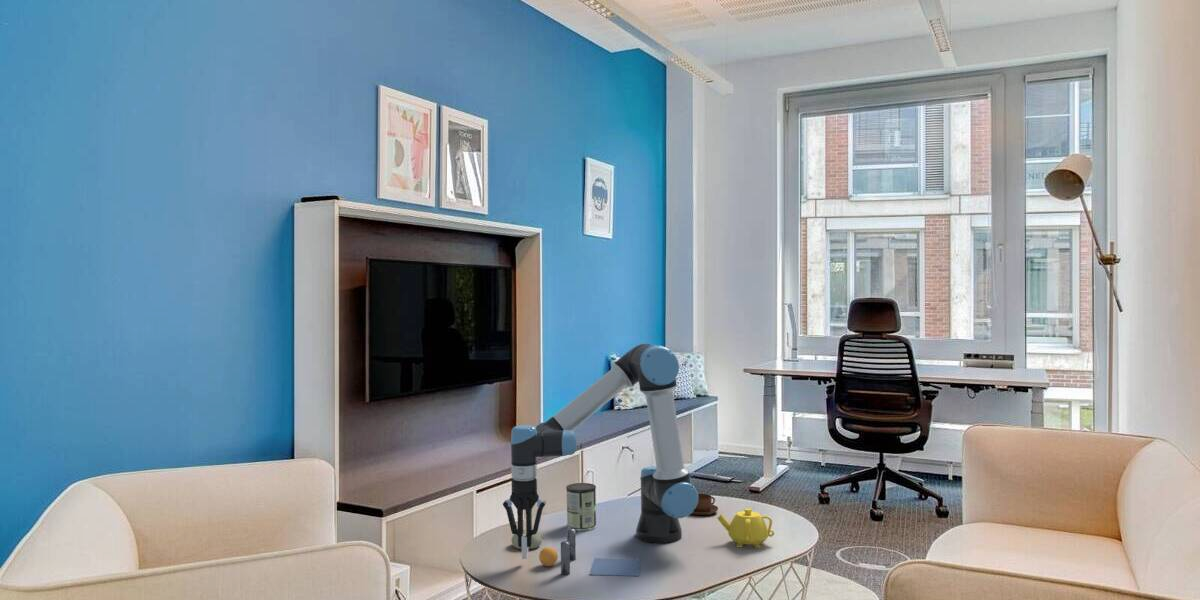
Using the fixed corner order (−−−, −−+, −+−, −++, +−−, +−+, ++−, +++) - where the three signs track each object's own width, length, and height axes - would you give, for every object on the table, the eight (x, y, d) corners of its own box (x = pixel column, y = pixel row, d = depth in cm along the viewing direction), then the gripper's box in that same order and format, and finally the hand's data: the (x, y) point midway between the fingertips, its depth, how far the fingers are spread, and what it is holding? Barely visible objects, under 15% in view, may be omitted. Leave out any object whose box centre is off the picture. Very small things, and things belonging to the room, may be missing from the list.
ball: (543, 542, 236) (538, 559, 237) (540, 547, 231) (535, 565, 231) (561, 547, 236) (556, 565, 236) (558, 553, 230) (553, 571, 230)
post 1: (570, 572, 228) (570, 541, 228) (569, 575, 225) (569, 543, 225) (561, 571, 228) (561, 541, 228) (560, 575, 226) (560, 543, 225)
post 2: (576, 557, 240) (575, 528, 240) (575, 560, 238) (574, 530, 238) (567, 557, 241) (567, 528, 241) (566, 560, 238) (566, 530, 238)
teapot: (748, 534, 263) (748, 500, 263) (778, 544, 251) (778, 509, 251) (716, 542, 255) (715, 507, 255) (745, 553, 243) (745, 517, 243)
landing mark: (640, 559, 238) (640, 559, 238) (638, 576, 224) (638, 575, 224) (594, 558, 239) (594, 558, 239) (589, 575, 225) (589, 574, 225)
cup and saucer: (696, 506, 298) (696, 490, 298) (724, 512, 290) (724, 495, 290) (678, 513, 289) (678, 496, 289) (707, 519, 281) (706, 502, 281)
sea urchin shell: (539, 545, 247) (521, 526, 248) (522, 563, 248) (504, 543, 249) (547, 536, 256) (530, 517, 257) (530, 553, 257) (513, 534, 258)
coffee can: (577, 521, 280) (577, 481, 280) (601, 525, 274) (601, 484, 274) (560, 528, 271) (560, 487, 271) (585, 532, 266) (585, 491, 266)
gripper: (499, 480, 231) (500, 561, 231) (543, 481, 230) (544, 562, 230) (505, 475, 238) (506, 552, 239) (547, 475, 237) (548, 553, 237)
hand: (525, 557), depth 234 cm, fingers closed
